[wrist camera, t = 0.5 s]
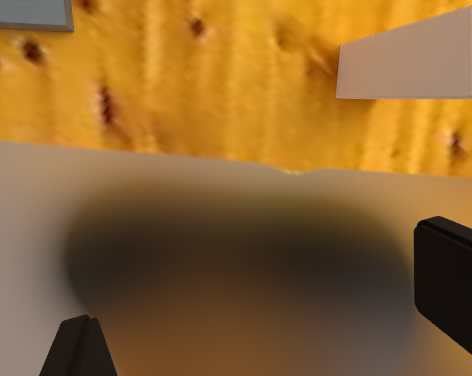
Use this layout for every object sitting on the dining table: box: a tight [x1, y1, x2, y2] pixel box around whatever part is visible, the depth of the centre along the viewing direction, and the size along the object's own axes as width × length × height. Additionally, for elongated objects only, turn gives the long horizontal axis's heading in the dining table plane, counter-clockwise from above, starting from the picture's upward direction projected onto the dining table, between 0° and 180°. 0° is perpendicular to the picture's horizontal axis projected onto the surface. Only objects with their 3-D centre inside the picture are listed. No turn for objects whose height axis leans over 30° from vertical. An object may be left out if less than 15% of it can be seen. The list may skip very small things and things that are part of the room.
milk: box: [336, 5, 472, 99], centre depth 29 cm, size 6×6×22 cm
